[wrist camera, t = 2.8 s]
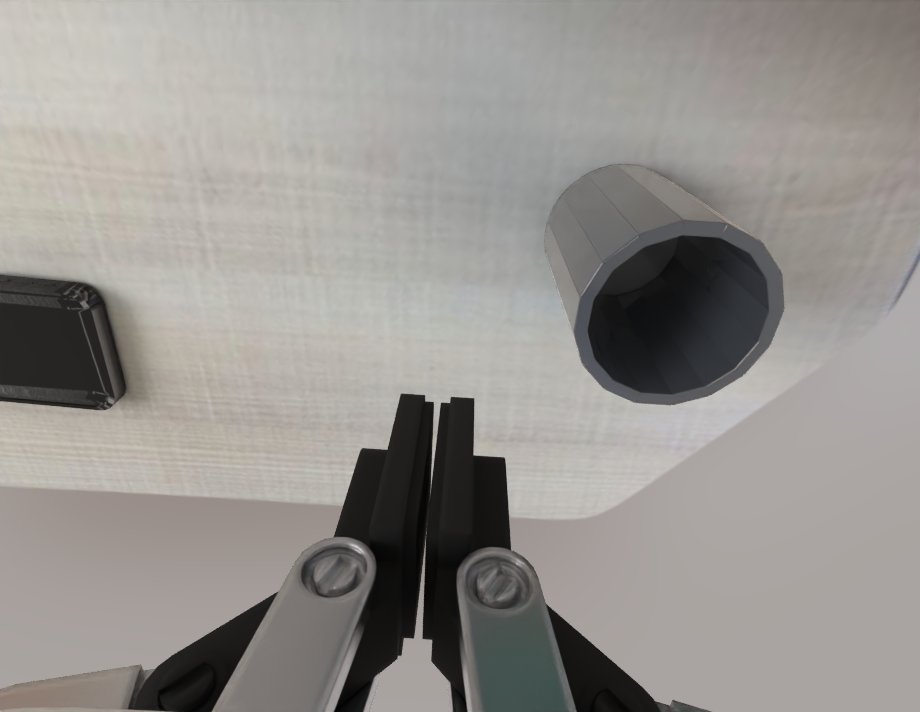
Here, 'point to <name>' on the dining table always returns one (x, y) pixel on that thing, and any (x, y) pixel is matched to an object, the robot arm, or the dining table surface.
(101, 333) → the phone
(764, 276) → the cup
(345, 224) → the dining table surface
